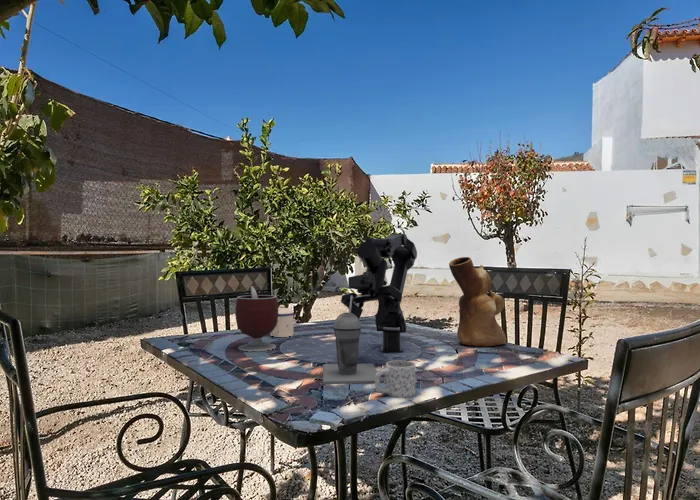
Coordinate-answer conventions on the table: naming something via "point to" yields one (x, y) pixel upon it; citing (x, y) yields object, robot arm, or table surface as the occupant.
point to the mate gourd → (256, 319)
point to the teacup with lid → (283, 323)
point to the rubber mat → (363, 375)
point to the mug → (397, 379)
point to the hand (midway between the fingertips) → (365, 325)
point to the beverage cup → (347, 341)
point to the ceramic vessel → (477, 305)
